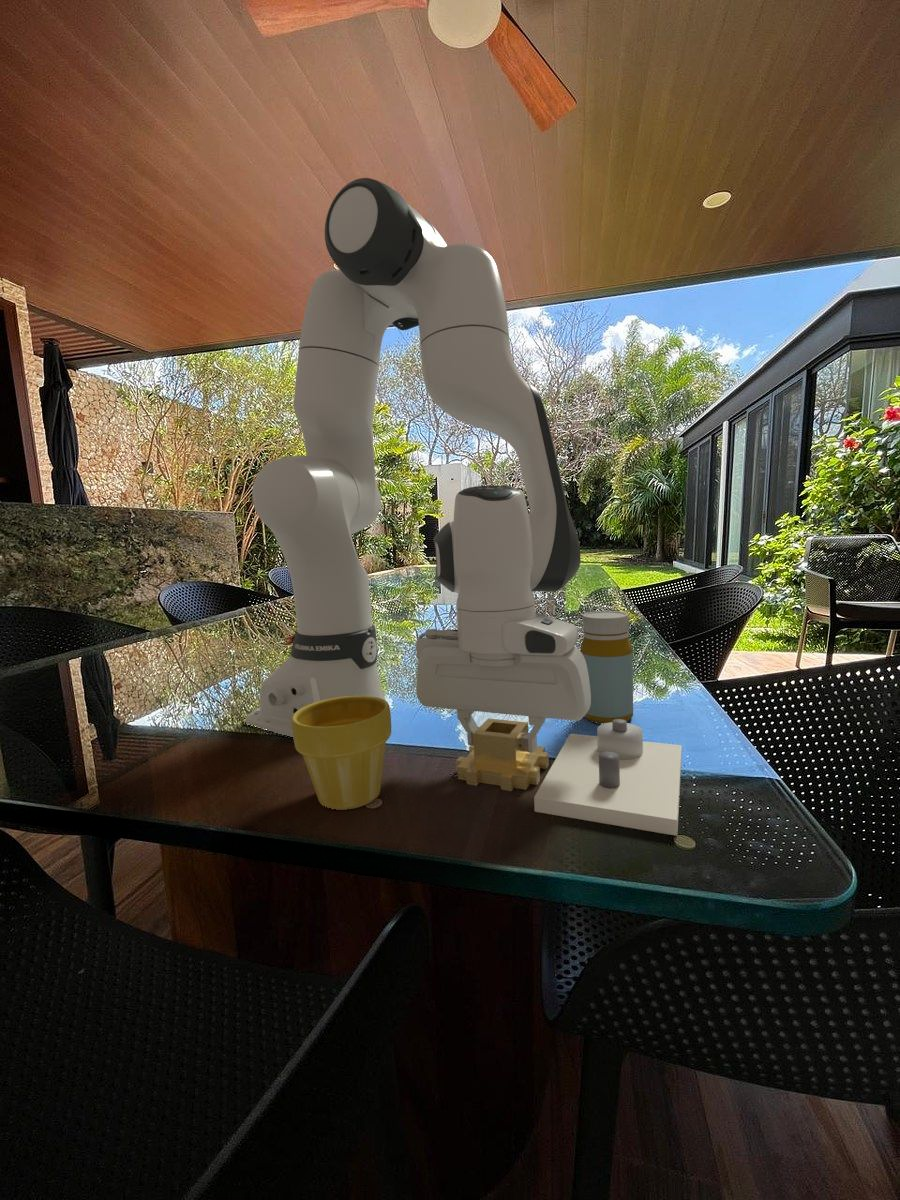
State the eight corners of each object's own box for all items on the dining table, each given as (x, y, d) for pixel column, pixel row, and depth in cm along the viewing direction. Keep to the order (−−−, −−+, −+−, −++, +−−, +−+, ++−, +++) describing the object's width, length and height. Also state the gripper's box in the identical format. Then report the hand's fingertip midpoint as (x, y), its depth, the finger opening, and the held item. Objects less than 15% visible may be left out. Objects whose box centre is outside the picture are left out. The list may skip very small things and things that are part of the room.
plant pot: (302, 781, 62) (294, 700, 61) (390, 768, 65) (384, 689, 63) (297, 828, 52) (287, 733, 51) (402, 810, 55) (395, 718, 53)
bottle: (636, 726, 73) (635, 618, 71) (583, 726, 74) (580, 619, 72) (629, 709, 80) (628, 609, 78) (581, 708, 81) (578, 611, 79)
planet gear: (448, 781, 60) (446, 739, 60) (479, 747, 69) (477, 710, 68) (531, 794, 56) (529, 749, 56) (553, 757, 65) (551, 717, 64)
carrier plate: (534, 811, 53) (532, 763, 52) (570, 744, 68) (569, 706, 68) (677, 835, 48) (677, 782, 47) (681, 757, 63) (681, 716, 62)
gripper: (402, 633, 62) (410, 747, 64) (581, 639, 53) (584, 770, 55) (427, 623, 68) (433, 728, 69) (592, 627, 59) (594, 746, 61)
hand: (502, 747), depth 62 cm, fingers closed on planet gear, 5 cm apart
